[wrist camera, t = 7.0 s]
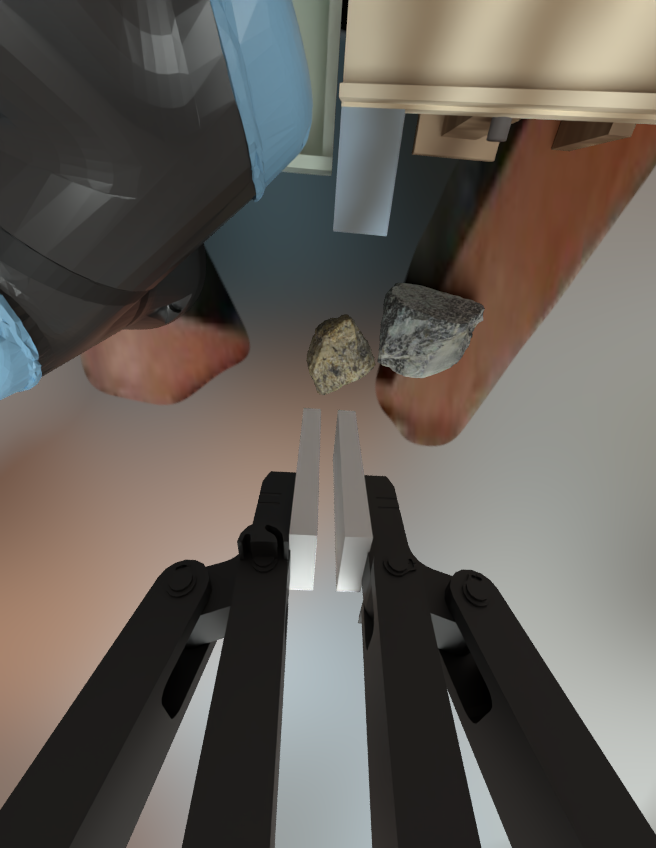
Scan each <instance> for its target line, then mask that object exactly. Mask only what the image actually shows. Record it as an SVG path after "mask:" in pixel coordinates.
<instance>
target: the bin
mask: <svg viewBox="0 0 656 848" xmlns="http://www.w3.org/2000/svg"><path fill="white" fill-rule="evenodd" d="M292 2H293V5H294V9H295V13H296V17H297V21H298V24H299V29H300V33H301V37H302V41H303V45H304V50H305V54H306V59H307V63H308V69H309V74H310V81H311V88H312V97H313V108H312V123H311V127H310V132H309V136H308V140H307V142H306V144H305V146H304V147H303V149H302V151H301V152H300V153H299V154H298V156H297V157H296V158H295V159H294V160H293V161H292V162H291V163H290V164H289V165H288V166H287V167H286V168H285V169H284V170H283V171H282V172H291V173H301V174H312V175H324V176H331V174H332V161H333V142H334V127H335V110H336V109H335V108H336V94H337V93H336V92H337V77H338V61H339V45H340V29H341V12H342V0H292Z"/></svg>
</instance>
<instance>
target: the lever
mask: <svg viewBox="0 0 656 848" xmlns="http://www.w3.org/2000/svg"><path fill="white" fill-rule="evenodd" d="M345 47H346V48H345V61H344V76H343V83H340V88H339V98H340V100H341V101H342V105H341V106H342V110H341V124H340V138H339V153H338V167H337V182H336V196H335V212H334V226H333V231H337V232H347V233H358V234H369V235H379V236H387V231H388V225H389V217H390V211H391V205H392V197H393V191H394V185H395V178H396V171H397V165H398V158H399V150H400V144H401V138H402V131H403V125H404V118H405V113H414V114H436V115H458V116H481V117H492V120H491V123H490V127H489V131H488V135H487V139H486V140H487V141H490V142H503V141H506V139H507V135H508V132H509V128H510V125H511V121H512V118H525V119H548V120H570V121H592V122H614V123H637V124H656V0H349V2H348V17H347V31H346V46H345Z"/></svg>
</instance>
